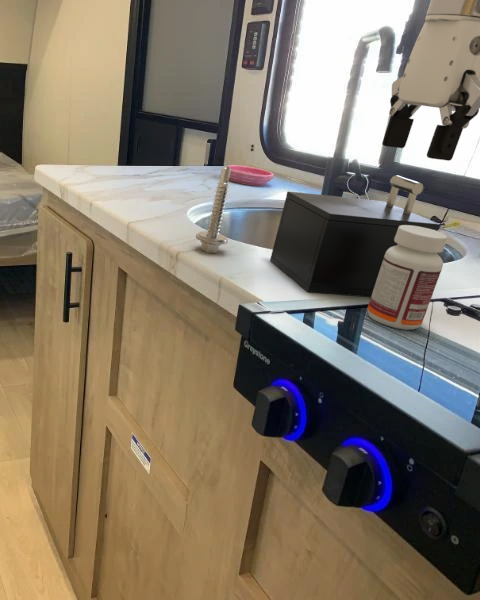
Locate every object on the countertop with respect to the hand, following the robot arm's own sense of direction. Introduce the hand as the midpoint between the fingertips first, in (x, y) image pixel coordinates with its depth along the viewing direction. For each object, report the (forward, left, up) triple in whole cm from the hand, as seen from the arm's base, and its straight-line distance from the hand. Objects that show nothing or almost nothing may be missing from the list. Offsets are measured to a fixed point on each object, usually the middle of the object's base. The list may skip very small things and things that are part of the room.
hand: (414, 152), depth 80 cm
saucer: (-9, -74, -19) cm, 77 cm away
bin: (+6, 0, -19) cm, 19 cm away
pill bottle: (+6, +14, -19) cm, 24 cm away
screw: (+22, -9, -19) cm, 30 cm away
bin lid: (+5, 0, -9) cm, 10 cm away
